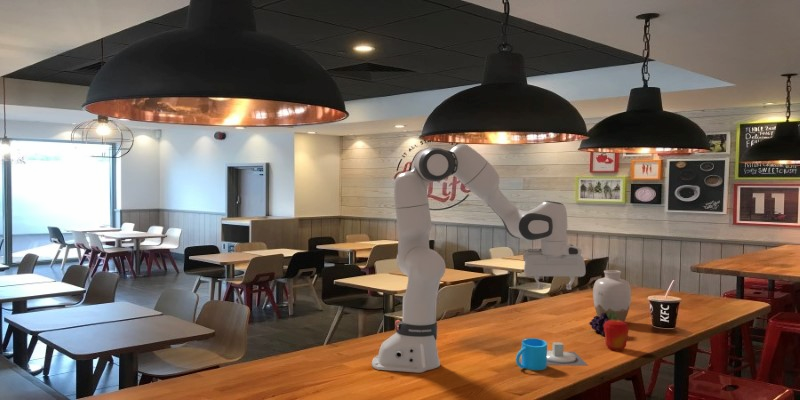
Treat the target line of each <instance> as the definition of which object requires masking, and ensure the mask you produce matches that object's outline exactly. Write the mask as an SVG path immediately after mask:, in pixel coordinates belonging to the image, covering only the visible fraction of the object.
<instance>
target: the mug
mask: <svg viewBox="0 0 800 400" xmlns="http://www.w3.org/2000/svg"><path fill="white" fill-rule="evenodd" d="M547 351H548V342H547V341H546V340H544V339H540V338H534V337H533V338H532V337H531V338H524V339H522V340H521V349H520V350H519V351H517V354H516V357H515V361H516V365H517V367H519V368H521V369H527V370H531V371H542V370H545V369H547V367H548V365H547ZM520 358H521V359H520Z"/></svg>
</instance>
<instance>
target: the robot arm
mask: <svg viewBox="0 0 800 400" xmlns="http://www.w3.org/2000/svg"><path fill="white" fill-rule="evenodd" d="M450 176H453V177H455V178H457V179H458V181H460V183H461V184H462V185H463V186H464V187H465V188H467V190H469V191H470V192H471V193H473V194H474V195H475V196H476V197H478V198H479V199H481V200H483V202H484V203H486V204H487V205H488V206H489V208H490V209H491V210H492V211H493V212H494V213H495V214H496V215H497V216H498V217H499V219H501V221H502V223H503V226H504V229H505V230H506V232H507V233H508V235H509V236H511V237H512V238H514V239H522V240H526V241H536V240H540V248H527V249H526V250H524V251H523V254H522V259H523V261H524V266H523V267H524V268H523V273H524V275H525V276H526V277H534V280H535V282H536V283H537V289H538V290H544V289H543V288H544V287H543V286H544V285H543V283H540V281H539V280H540V277H569V279H570V281H569V282H568V283H566V284H565V285H566V290H568V291H569V290H572V285H573V283H574V281H575V279H576V277H584V276H585V275H586V272H587V270H586V264H585V259H584V257H583V256H582V249H581V247H579V246H576V245H573V244H571V243H568V242H569V241H568V236H567V231H568V214H567V209H566V206H565V205H564V204H563V203H562V202H558V201H550V200H545V201H542V202H541V203H540V204H538V206H536V207H534V208H531V209H530V210H528V211H527V210H523V209H520V208H518V207H516V206H515V205H514V203H512V202H511V201H510V200H509V198H507V197H506V195H504V193H502V191H501V189H500V181H501V180H500V175H499V173H498V171H497V170H496V169H495V167H493V165H492V164H491V163H490V162H489V161H488V160H487V159H486V158H485V157H483V156H482V154H480V153H479V152H478V151H477V150H475V149H474V148H472V147H471V146H469V145H468V144H466V143H459V144H456V145H455V146H453V147H452V148H451V149H449V150H448V149H444V148H439V147H429V146H428V147H426V148H423V149H420V150H419V151H417V152H416V153H415V155H414V156H413V158H412V160H411V164H410V165H409V168H408V171H404V172H402V173H400V174H398V175H397V176H396V177H395V179H394V186H393V193H394V194H393V197H394V198H393V199H394V207H395V216H396V223H397V224H396V225H397V233H398V240H397V255H396V260H395V261H396V265H397V267H398V268H399V270H400V271H401V273H402V274H404V275H405V276H406V277H407V278H408V279H407V286H406V289H405V293H404V295H403V296H402V320H400V319H397V320H395V323H394V325H395V327H396V328H395V330H396V331H395V333H393V334H392V335H391V336H390V337H388V338H387V339H385V340H383V342H382V343H381V345H380V348H379V350H378V355H375V356H374V357H373V358H372V361H371V366H372V368H373V369H375V370H380V371H389V372H390V371H391V372H404V373H405V372H407V373H418V374H419V373H424V372H426V371H430V370H434V369H436V368H439V367H440V366H441V363H440V362H441V361H440V358H439V353H438V347H437V339H438V323H437V320H436V319H437V296H438V293H439V289H440V288H439V287H440V284H441V279H442V278H443V277H444V275H445V273H446V269H447V268H446V266H447V265H446V262H445V260H444V258H443V256H442V255H440V254H439V252H438V251H435V249H432V248H430V235H431V230H432V225H433V224H432V217H431V210H430V204H429V198H428V188H429V185H430V183H432V182H435V183H436V182H440V181H443V180H445V179H447V178H449V177H450Z"/></svg>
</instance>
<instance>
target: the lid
mask: <svg viewBox="0 0 800 400" xmlns="http://www.w3.org/2000/svg"><path fill="white" fill-rule="evenodd" d="M551 348H552V349H551V350H547V361H549V362H554V363H571V362H574V361H576V356H575V355H574V354H572V353H569V352H570V351H564V348H565V347H564V343H563V342H557V341H556V342H555V341H554V342H552V347H551Z"/></svg>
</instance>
